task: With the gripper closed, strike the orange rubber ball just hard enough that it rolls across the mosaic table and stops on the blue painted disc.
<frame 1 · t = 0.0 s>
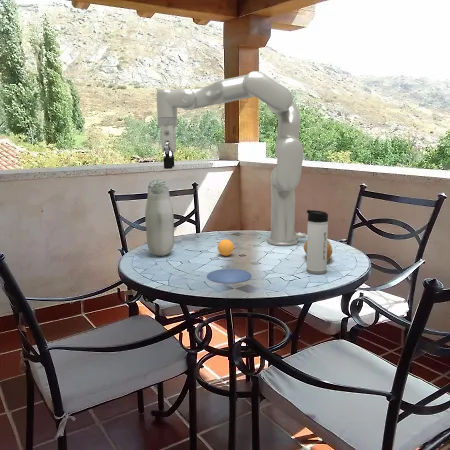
hand: (169, 167, 172), 31 cm above the table, tool pointing down, fingers open, 9 cm apart
grey beige bottle: (161, 255, 164), on the table
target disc: (229, 275, 138), on the table
travel mug: (315, 272, 141), on the table
ball: (225, 247, 161), on the table
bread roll: (317, 260, 155), on the table
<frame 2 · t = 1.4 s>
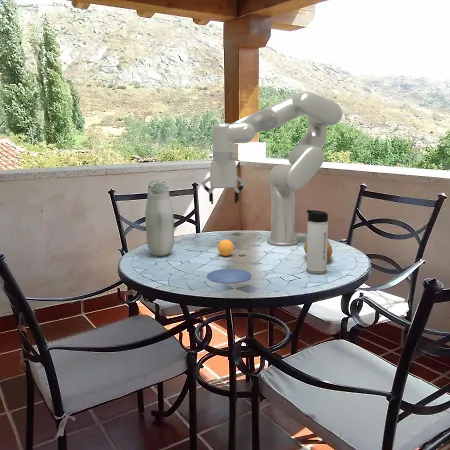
hand: (224, 203, 168), 18 cm above the table, tool pointing down, fingers open, 8 cm apart
nothing on the table moved.
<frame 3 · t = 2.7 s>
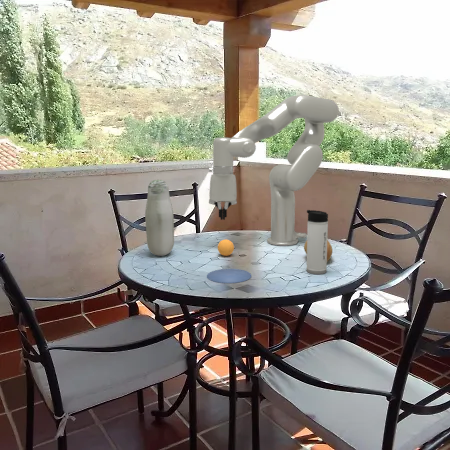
hand: (222, 219, 168), 12 cm above the table, tool pointing down, fingers closed
nothing on the table moved.
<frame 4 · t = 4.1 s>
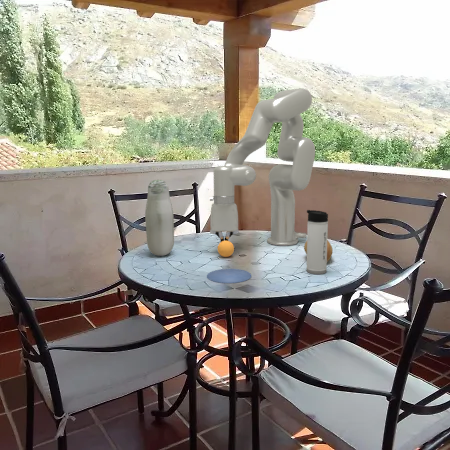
hand: (224, 248, 164), 2 cm above the table, tool pointing down, fingers closed
ball: (225, 248, 160), on the table
everything else where it was.
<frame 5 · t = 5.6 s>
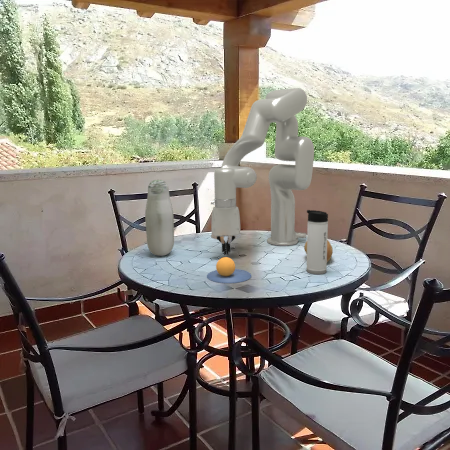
hand: (226, 253, 159), 2 cm above the table, tool pointing down, fingers closed
ball: (225, 266, 138), on the table
everything else where it was.
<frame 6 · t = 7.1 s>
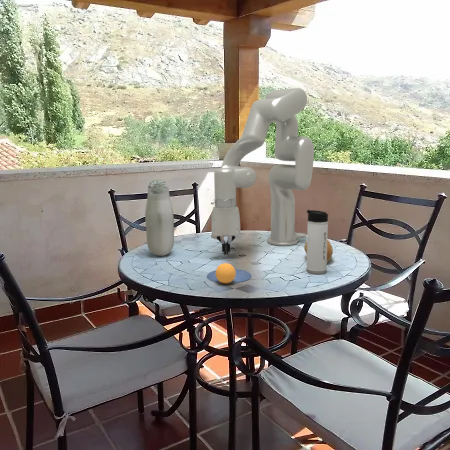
hand: (226, 253, 159), 2 cm above the table, tool pointing down, fingers closed
ball: (225, 273, 131), on the table
everything else where it was.
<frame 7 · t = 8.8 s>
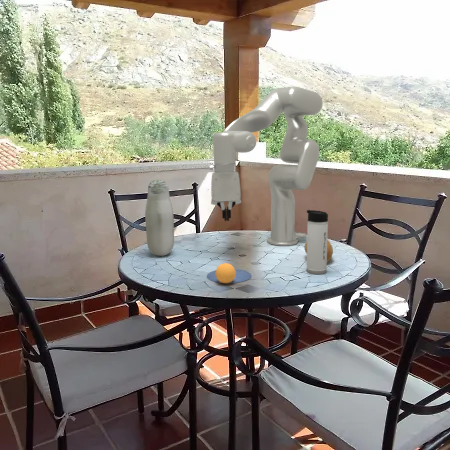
hand: (226, 220, 156), 14 cm above the table, tool pointing down, fingers closed
nothing on the table moved.
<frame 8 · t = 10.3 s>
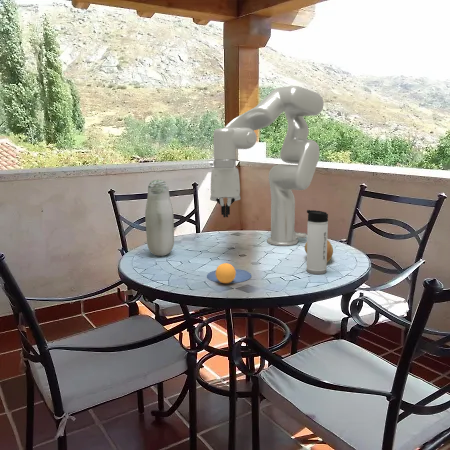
hand: (225, 216, 156), 15 cm above the table, tool pointing down, fingers closed
nothing on the table moved.
at the end: ball 6.7 cm from the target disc (horizontally); ball at rest at the end (0.0 cm/s); ball moved 30.6 cm from its start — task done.
